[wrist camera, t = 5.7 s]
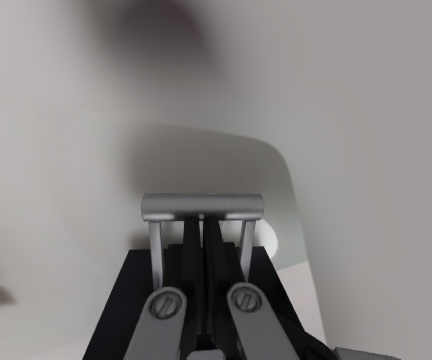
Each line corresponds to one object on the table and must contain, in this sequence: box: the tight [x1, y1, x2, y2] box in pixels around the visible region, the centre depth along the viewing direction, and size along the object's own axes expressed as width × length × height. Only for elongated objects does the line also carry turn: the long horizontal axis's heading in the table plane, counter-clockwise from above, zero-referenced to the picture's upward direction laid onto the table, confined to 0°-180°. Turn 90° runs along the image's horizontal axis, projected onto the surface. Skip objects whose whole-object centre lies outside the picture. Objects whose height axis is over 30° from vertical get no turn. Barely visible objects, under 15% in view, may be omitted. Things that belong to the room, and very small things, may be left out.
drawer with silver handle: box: [82, 193, 304, 360], centre depth 15 cm, size 23×11×8 cm, turn 177°
